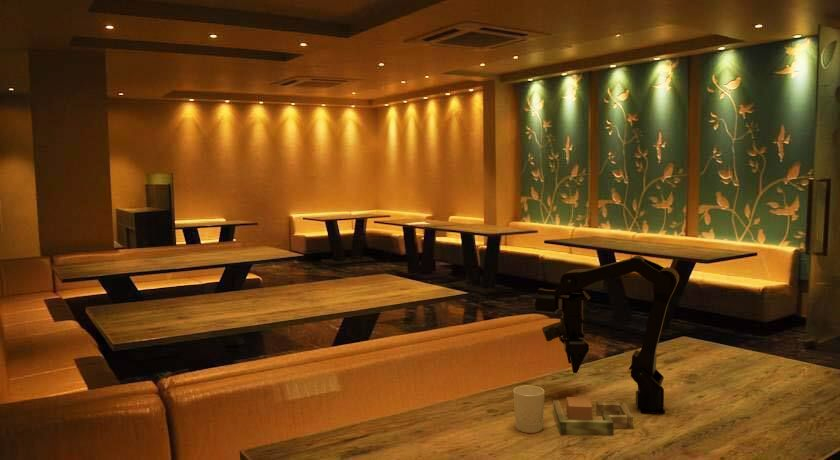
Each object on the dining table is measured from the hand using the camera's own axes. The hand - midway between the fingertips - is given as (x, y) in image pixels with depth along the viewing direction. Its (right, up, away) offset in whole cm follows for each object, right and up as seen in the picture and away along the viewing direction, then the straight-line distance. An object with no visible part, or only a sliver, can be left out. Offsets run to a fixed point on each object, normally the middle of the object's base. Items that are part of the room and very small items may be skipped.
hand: (572, 367), depth 191 cm
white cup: (-16, -12, -20) cm, 28 cm away
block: (-1, -11, -12) cm, 16 cm away
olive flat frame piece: (+1, -11, -17) cm, 20 cm away
